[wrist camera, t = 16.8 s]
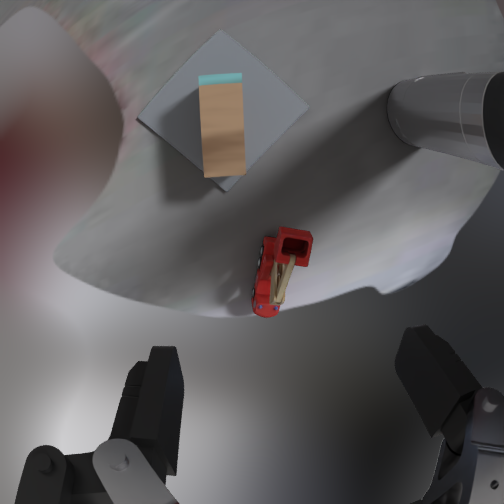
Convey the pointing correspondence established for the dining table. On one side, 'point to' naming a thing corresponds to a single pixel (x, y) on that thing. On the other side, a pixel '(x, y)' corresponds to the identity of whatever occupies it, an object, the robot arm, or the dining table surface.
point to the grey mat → (254, 103)
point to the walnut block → (222, 124)
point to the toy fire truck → (278, 268)
